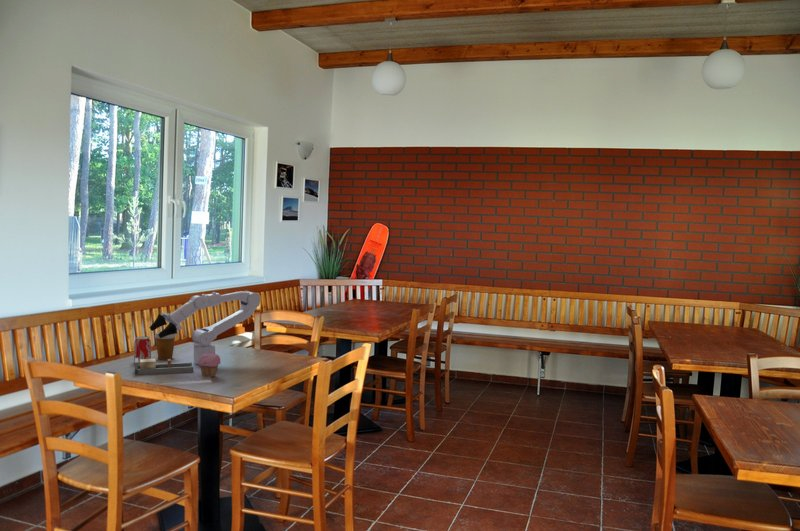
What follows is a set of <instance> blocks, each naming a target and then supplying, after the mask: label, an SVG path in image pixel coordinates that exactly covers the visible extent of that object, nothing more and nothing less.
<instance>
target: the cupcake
mask: <svg viewBox="0 0 800 531" xmlns="http://www.w3.org/2000/svg"><path fill="white" fill-rule="evenodd" d="M220 357H221V356H220V355H218V354H216V353H215V354H213V353H205V354H203V355H202V357H200V359H199V364H198V365H199V366H200V369H201V376H208V377H209V376H210V378H214V377H215V376H216V375H217V370H218V367H219V366H220V364H221V358H220Z"/></svg>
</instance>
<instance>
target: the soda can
mask: <svg viewBox="0 0 800 531" xmlns="http://www.w3.org/2000/svg"><path fill="white" fill-rule="evenodd" d="M135 358H138V365H140V359H152V341H151V339H150V336H136V337H135V340H134V342H133V363H134V364H135Z"/></svg>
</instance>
